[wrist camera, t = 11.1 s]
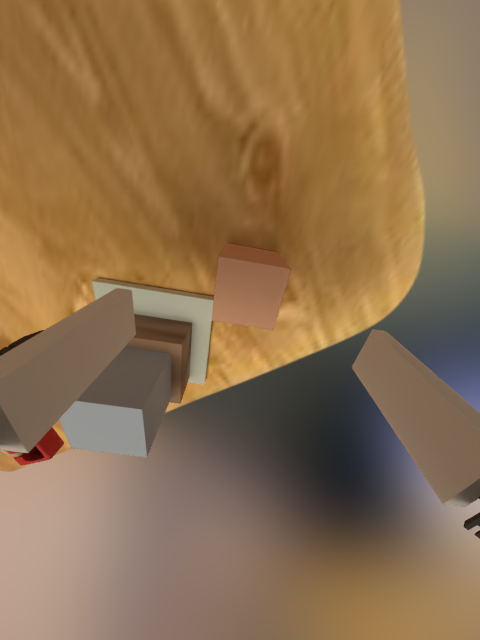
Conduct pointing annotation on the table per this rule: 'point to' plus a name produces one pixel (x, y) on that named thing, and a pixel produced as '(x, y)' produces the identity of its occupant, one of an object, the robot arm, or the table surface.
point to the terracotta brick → (249, 286)
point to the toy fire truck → (39, 449)
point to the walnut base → (166, 347)
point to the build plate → (172, 315)
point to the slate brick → (122, 405)
